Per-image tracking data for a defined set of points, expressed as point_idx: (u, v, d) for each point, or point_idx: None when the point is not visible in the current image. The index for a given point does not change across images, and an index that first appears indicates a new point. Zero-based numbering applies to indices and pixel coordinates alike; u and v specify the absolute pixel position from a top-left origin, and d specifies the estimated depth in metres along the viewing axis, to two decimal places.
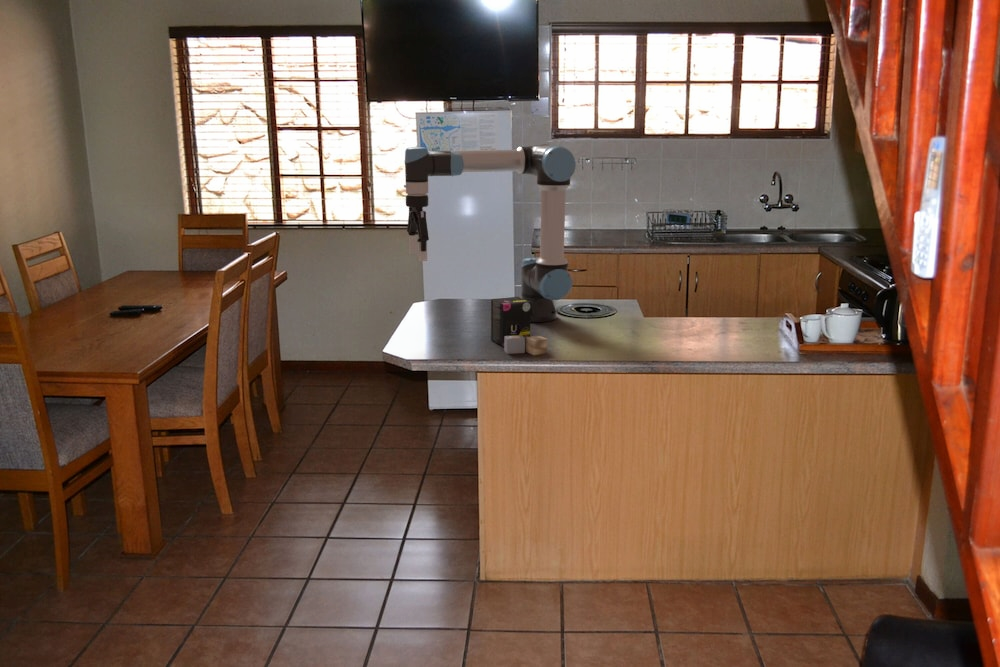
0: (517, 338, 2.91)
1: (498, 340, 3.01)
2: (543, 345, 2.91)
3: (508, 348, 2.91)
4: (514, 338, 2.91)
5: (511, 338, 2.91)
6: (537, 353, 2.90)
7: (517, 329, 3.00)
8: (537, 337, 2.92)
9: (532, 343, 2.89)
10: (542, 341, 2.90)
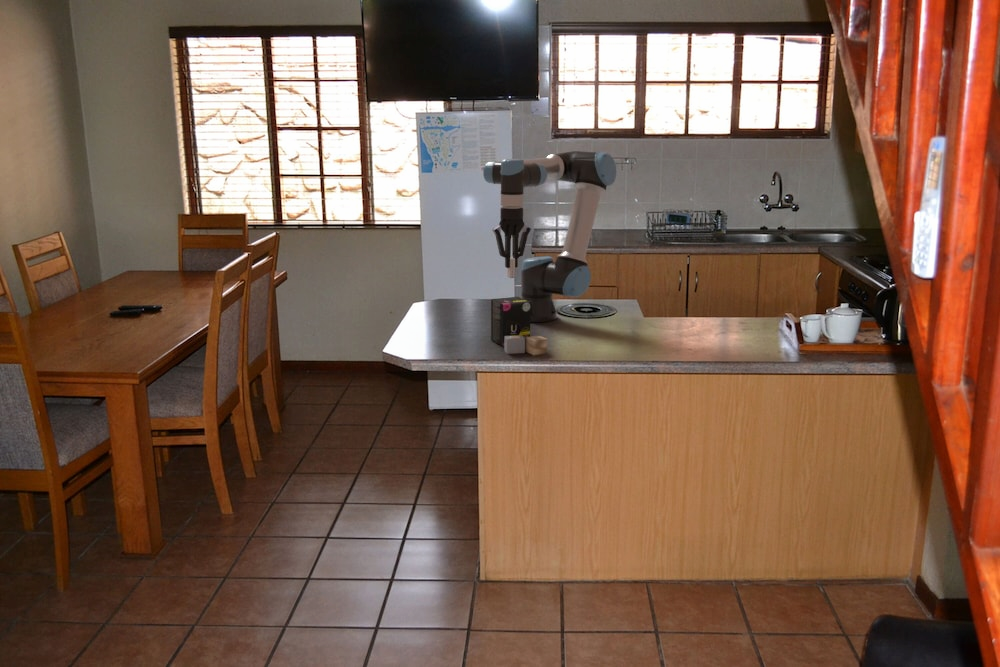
0: (517, 338, 2.91)
1: (498, 340, 3.01)
2: (543, 345, 2.91)
3: (508, 348, 2.91)
4: (514, 338, 2.91)
5: (511, 338, 2.91)
6: (537, 353, 2.90)
7: (517, 329, 3.00)
8: (537, 337, 2.92)
9: (532, 343, 2.89)
10: (542, 341, 2.90)
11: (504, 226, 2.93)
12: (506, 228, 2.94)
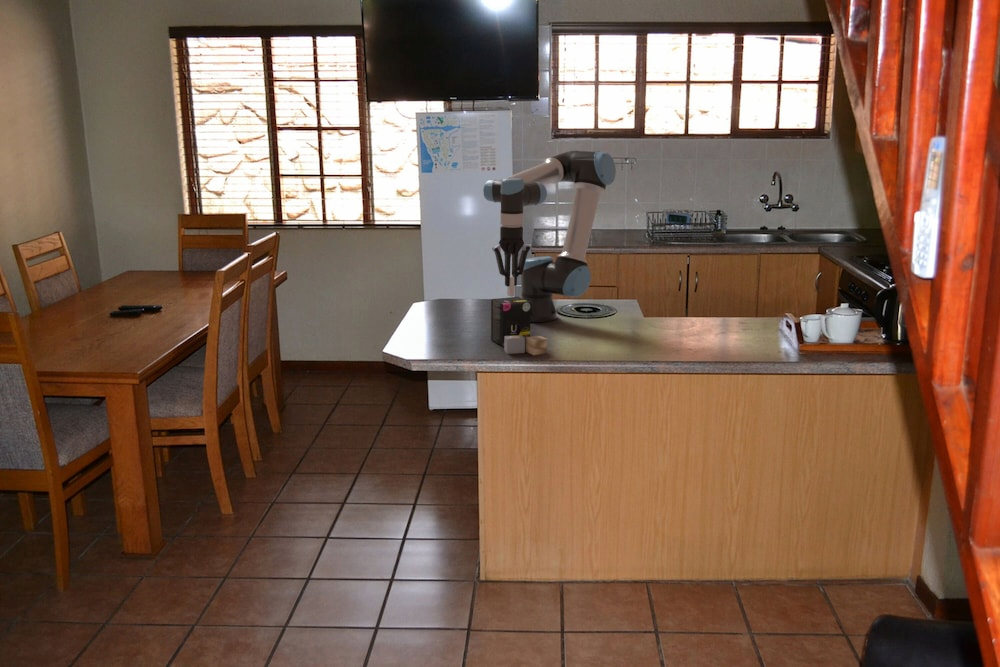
0: (517, 338, 2.91)
1: (498, 340, 3.01)
2: (543, 345, 2.91)
3: (508, 348, 2.91)
4: (514, 338, 2.91)
5: (511, 338, 2.91)
6: (537, 353, 2.90)
7: (517, 329, 3.00)
8: (537, 337, 2.92)
9: (532, 343, 2.89)
10: (542, 341, 2.90)
11: (504, 245, 2.95)
12: (506, 247, 2.95)
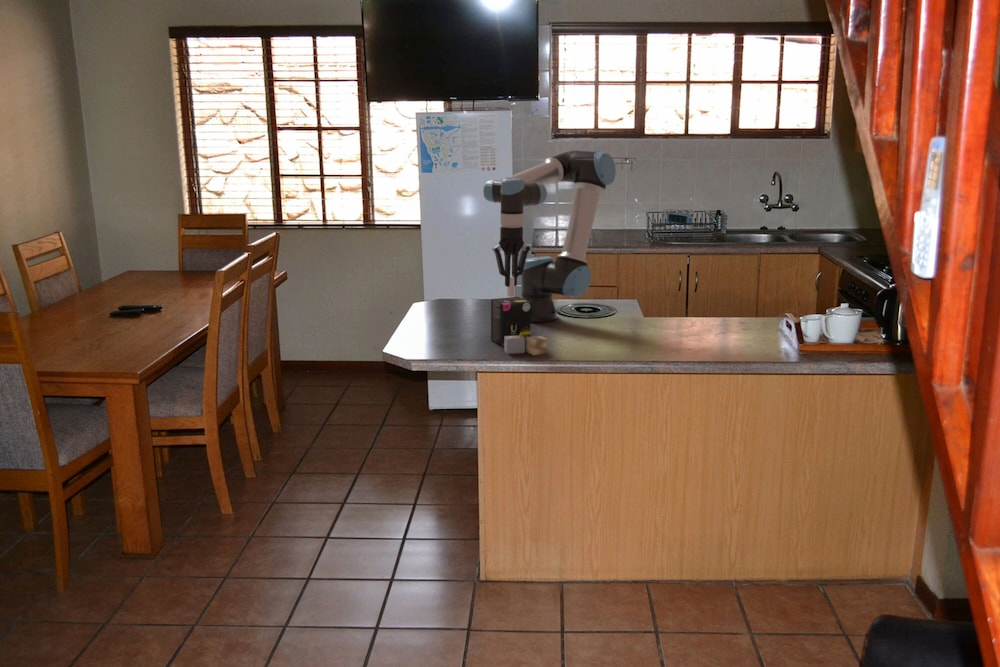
0: (517, 338, 2.91)
1: (498, 340, 3.01)
2: (543, 345, 2.91)
3: (508, 348, 2.91)
4: (514, 338, 2.91)
5: (511, 338, 2.91)
6: (537, 353, 2.90)
7: (517, 329, 3.00)
8: (537, 337, 2.92)
9: (532, 343, 2.89)
10: (542, 341, 2.90)
11: (504, 245, 2.95)
12: (506, 247, 2.95)
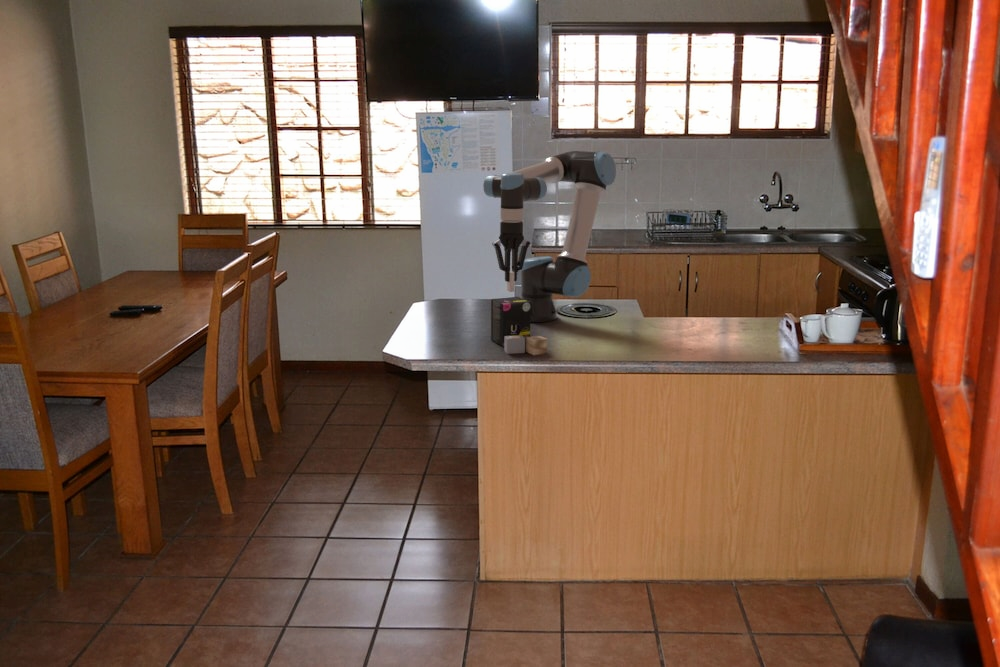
0: (517, 338, 2.91)
1: (498, 340, 3.01)
2: (543, 345, 2.91)
3: (508, 348, 2.91)
4: (514, 338, 2.91)
5: (511, 338, 2.91)
6: (537, 353, 2.90)
7: (517, 329, 3.00)
8: (537, 337, 2.92)
9: (532, 343, 2.89)
10: (542, 341, 2.90)
11: (504, 240, 2.94)
12: (506, 242, 2.95)
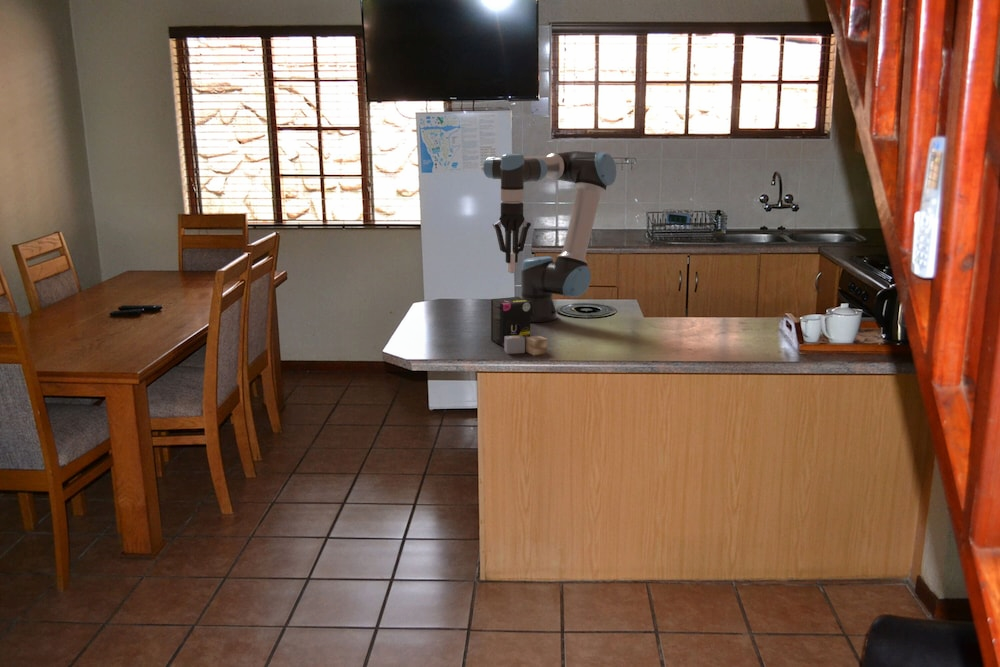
0: (517, 338, 2.91)
1: (498, 340, 3.01)
2: (543, 345, 2.91)
3: (508, 348, 2.91)
4: (514, 338, 2.91)
5: (511, 338, 2.91)
6: (537, 353, 2.90)
7: (517, 329, 3.00)
8: (537, 337, 2.92)
9: (532, 343, 2.89)
10: (542, 341, 2.90)
11: (504, 221, 2.93)
12: (506, 223, 2.93)
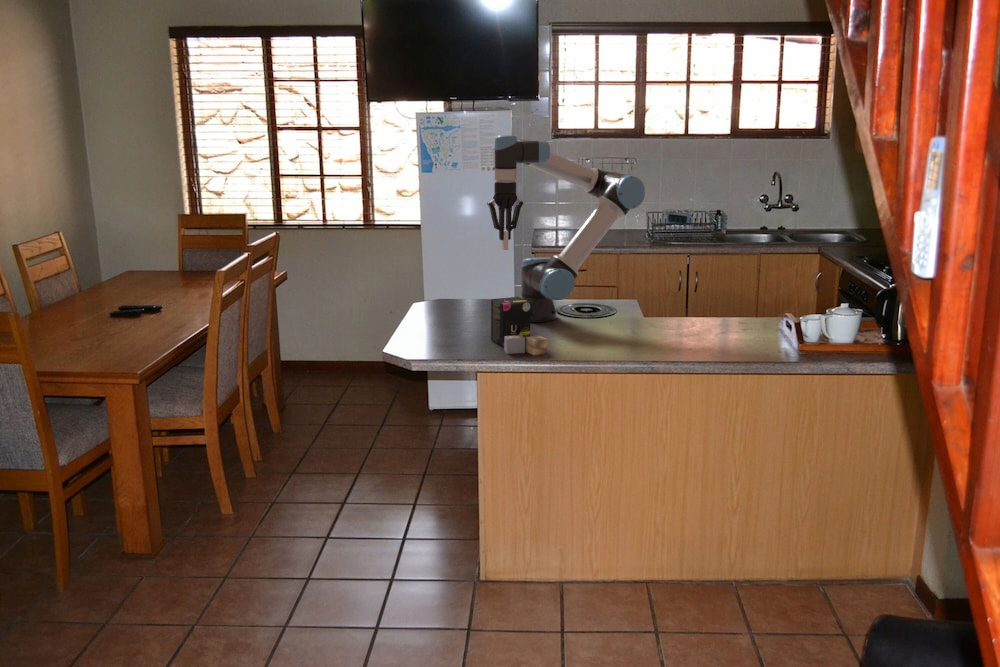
0: (517, 338, 2.91)
1: (498, 340, 3.01)
2: (543, 345, 2.91)
3: (508, 348, 2.91)
4: (514, 338, 2.91)
5: (511, 338, 2.91)
6: (537, 353, 2.90)
7: (517, 329, 3.00)
8: (537, 337, 2.92)
9: (532, 343, 2.89)
10: (542, 341, 2.90)
11: (498, 199, 3.06)
12: (500, 201, 3.07)
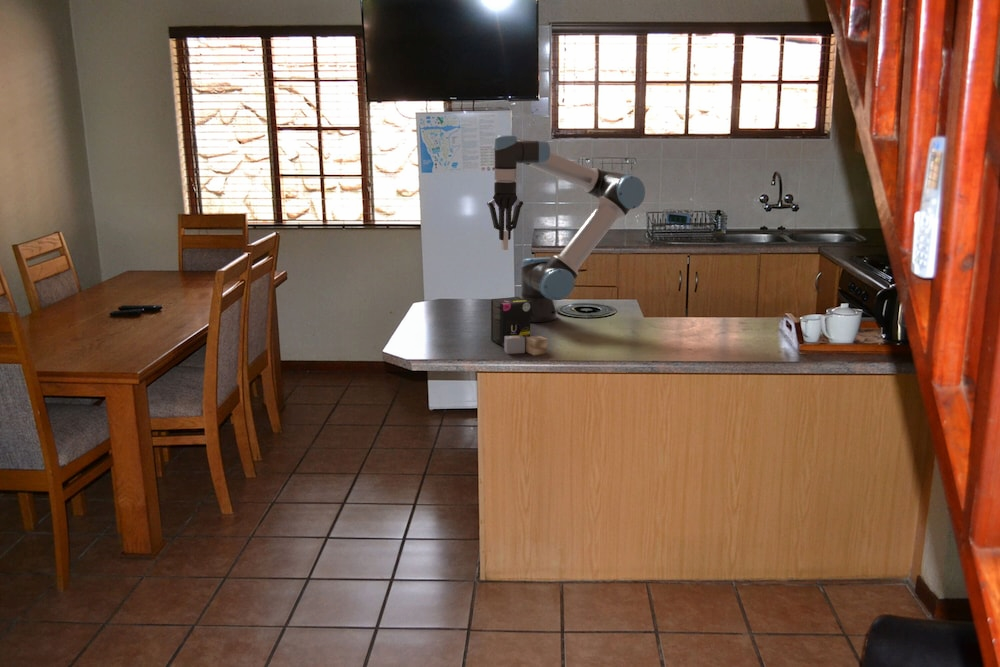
0: (517, 338, 2.91)
1: (498, 340, 3.01)
2: (543, 345, 2.91)
3: (508, 348, 2.91)
4: (514, 338, 2.91)
5: (511, 338, 2.91)
6: (537, 353, 2.90)
7: (517, 329, 3.00)
8: (537, 337, 2.92)
9: (532, 343, 2.89)
10: (542, 341, 2.90)
11: (498, 199, 3.06)
12: (500, 201, 3.07)
